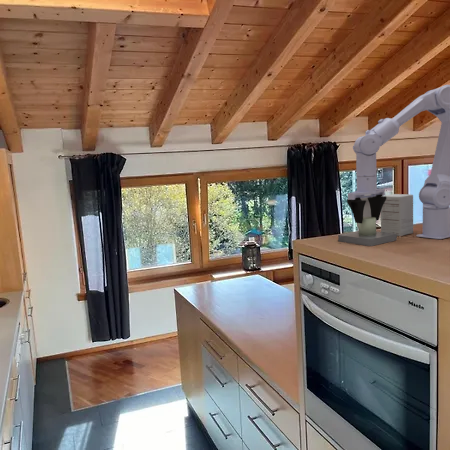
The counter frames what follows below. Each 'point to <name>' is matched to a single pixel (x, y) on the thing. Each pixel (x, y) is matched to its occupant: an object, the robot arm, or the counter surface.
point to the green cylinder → (367, 226)
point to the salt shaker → (366, 209)
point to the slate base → (367, 238)
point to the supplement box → (397, 214)
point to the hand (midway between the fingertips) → (367, 221)
